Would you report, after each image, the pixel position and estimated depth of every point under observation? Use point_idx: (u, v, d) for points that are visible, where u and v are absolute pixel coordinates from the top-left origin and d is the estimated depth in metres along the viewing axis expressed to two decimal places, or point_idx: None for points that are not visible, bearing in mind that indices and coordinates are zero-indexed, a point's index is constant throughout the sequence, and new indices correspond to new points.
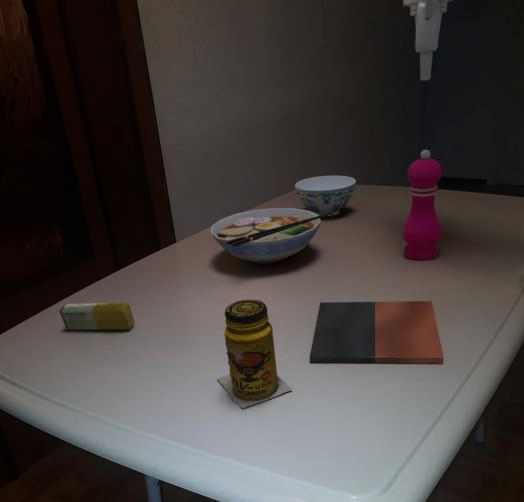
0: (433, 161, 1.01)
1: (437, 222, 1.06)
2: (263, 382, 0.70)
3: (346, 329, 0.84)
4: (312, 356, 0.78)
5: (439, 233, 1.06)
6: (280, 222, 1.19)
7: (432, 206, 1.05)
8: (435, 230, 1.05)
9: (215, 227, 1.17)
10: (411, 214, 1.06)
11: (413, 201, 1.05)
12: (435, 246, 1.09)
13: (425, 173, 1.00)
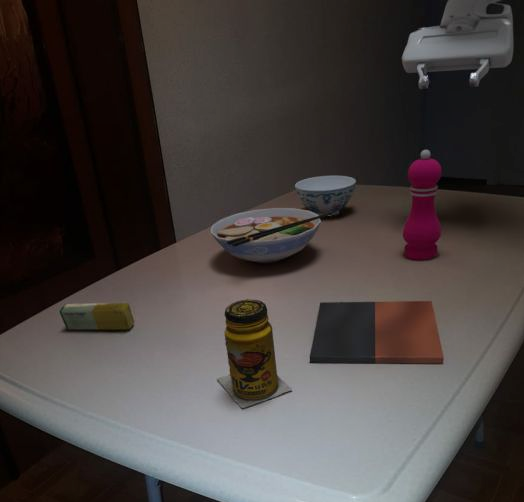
0: (433, 161, 1.01)
1: (437, 222, 1.06)
2: (263, 382, 0.70)
3: (346, 329, 0.84)
4: (312, 356, 0.78)
5: (439, 233, 1.06)
6: (280, 222, 1.19)
7: (432, 206, 1.05)
8: (435, 230, 1.05)
9: (215, 227, 1.17)
10: (411, 214, 1.06)
11: (413, 201, 1.05)
12: (435, 246, 1.09)
13: (425, 173, 1.00)
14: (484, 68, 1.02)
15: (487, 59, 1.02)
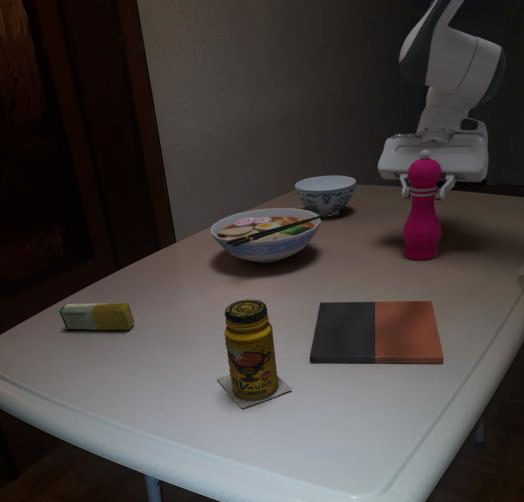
0: (433, 161, 1.01)
1: (437, 222, 1.06)
2: (263, 382, 0.70)
3: (346, 329, 0.84)
4: (312, 356, 0.78)
5: (439, 233, 1.06)
6: (280, 222, 1.19)
7: (432, 206, 1.05)
8: (435, 230, 1.05)
9: (215, 227, 1.17)
10: (411, 214, 1.06)
11: (413, 201, 1.05)
12: (435, 246, 1.09)
13: (424, 173, 1.00)
14: (450, 183, 1.02)
15: (453, 175, 1.02)
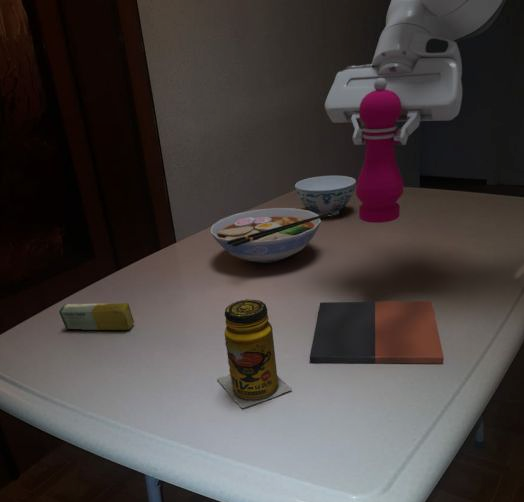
0: (390, 92, 0.78)
1: (398, 174, 0.83)
2: (263, 382, 0.70)
3: (346, 329, 0.84)
4: (312, 356, 0.78)
5: (401, 188, 0.84)
6: (280, 222, 1.19)
7: (391, 153, 0.82)
8: (395, 184, 0.83)
9: (215, 227, 1.17)
10: (365, 164, 0.84)
11: (367, 147, 0.83)
12: (397, 206, 0.86)
13: (379, 107, 0.78)
14: (412, 122, 0.80)
15: (416, 111, 0.80)
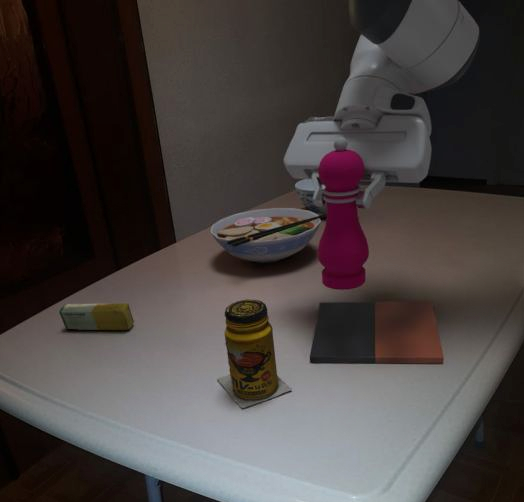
0: (351, 153, 0.71)
1: (362, 238, 0.76)
2: (263, 382, 0.70)
3: (346, 329, 0.84)
4: (312, 356, 0.78)
5: (365, 253, 0.77)
6: (280, 222, 1.19)
7: (354, 216, 0.75)
8: (359, 250, 0.76)
9: (215, 227, 1.17)
10: (326, 227, 0.77)
11: (328, 209, 0.75)
12: (362, 271, 0.79)
13: (338, 170, 0.71)
14: (376, 185, 0.73)
15: (380, 173, 0.73)
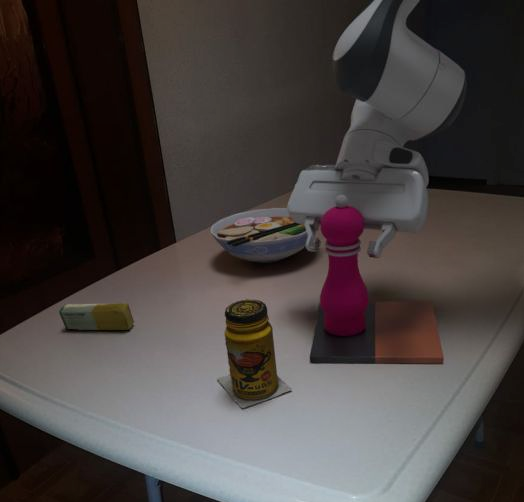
0: (352, 210, 0.75)
1: (362, 288, 0.80)
2: (263, 382, 0.70)
3: None
4: (312, 356, 0.78)
5: (365, 302, 0.80)
6: (280, 222, 1.19)
7: (354, 268, 0.79)
8: (359, 299, 0.79)
9: (215, 227, 1.17)
10: (328, 277, 0.80)
11: (329, 261, 0.79)
12: (363, 318, 0.83)
13: (340, 227, 0.74)
14: (387, 236, 0.75)
15: (391, 224, 0.75)
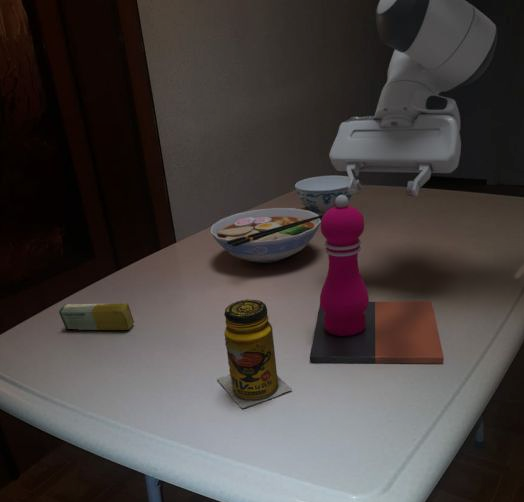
0: (352, 210, 0.75)
1: (362, 288, 0.80)
2: (263, 382, 0.70)
3: None
4: (312, 356, 0.78)
5: (365, 302, 0.80)
6: (280, 222, 1.19)
7: (354, 268, 0.79)
8: (359, 299, 0.79)
9: (215, 227, 1.17)
10: (328, 277, 0.80)
11: (329, 261, 0.79)
12: (363, 318, 0.83)
13: (340, 227, 0.74)
14: (424, 175, 0.83)
15: (427, 165, 0.83)
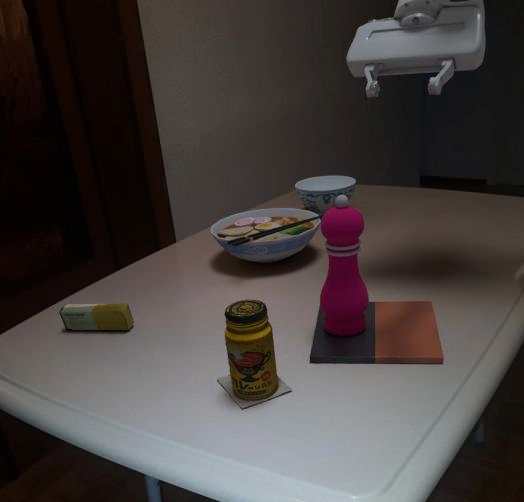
0: (352, 210, 0.75)
1: (362, 288, 0.80)
2: (263, 382, 0.70)
3: None
4: (312, 356, 0.78)
5: (365, 302, 0.80)
6: (280, 222, 1.19)
7: (354, 268, 0.79)
8: (359, 299, 0.79)
9: (215, 227, 1.17)
10: (328, 277, 0.80)
11: (329, 261, 0.79)
12: (363, 318, 0.83)
13: (340, 227, 0.74)
14: (447, 71, 0.79)
15: (451, 59, 0.79)
